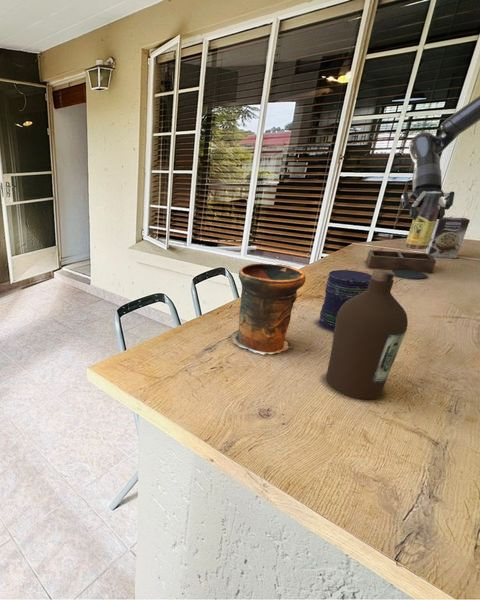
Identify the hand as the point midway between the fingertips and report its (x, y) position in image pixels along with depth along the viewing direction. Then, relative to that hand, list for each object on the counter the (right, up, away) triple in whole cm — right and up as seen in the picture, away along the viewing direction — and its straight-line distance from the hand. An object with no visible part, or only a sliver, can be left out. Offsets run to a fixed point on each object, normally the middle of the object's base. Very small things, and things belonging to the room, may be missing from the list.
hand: (427, 217), depth 122 cm
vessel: (-75, -41, -31) cm, 90 cm away
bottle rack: (+7, -16, +19) cm, 25 cm away
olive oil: (-65, -47, -49) cm, 94 cm away
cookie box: (+34, -10, +29) cm, 46 cm away
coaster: (+2, -20, +9) cm, 22 cm away
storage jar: (-49, -37, -25) cm, 66 cm away
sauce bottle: (+2, -10, +6) cm, 12 cm away
